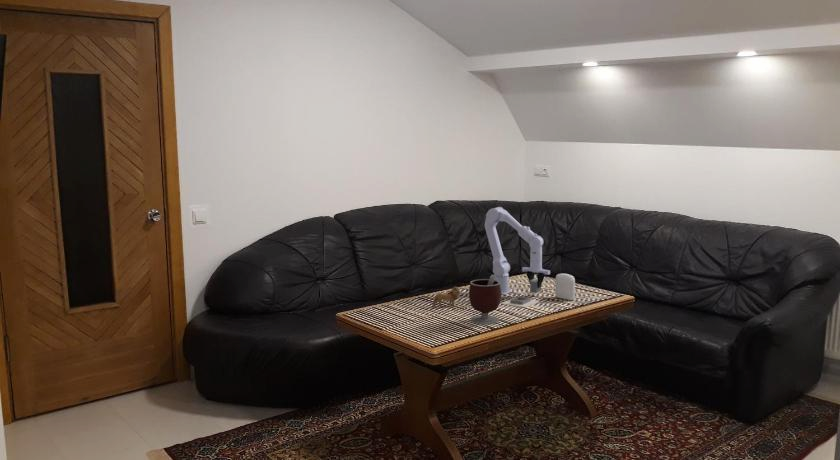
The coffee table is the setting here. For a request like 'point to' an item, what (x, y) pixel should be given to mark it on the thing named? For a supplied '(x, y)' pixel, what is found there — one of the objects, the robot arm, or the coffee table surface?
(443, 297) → the lion figurine
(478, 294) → the mate gourd
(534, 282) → the block
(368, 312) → the coffee table surface
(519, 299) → the plate
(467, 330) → the coffee table surface
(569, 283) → the photo printer
